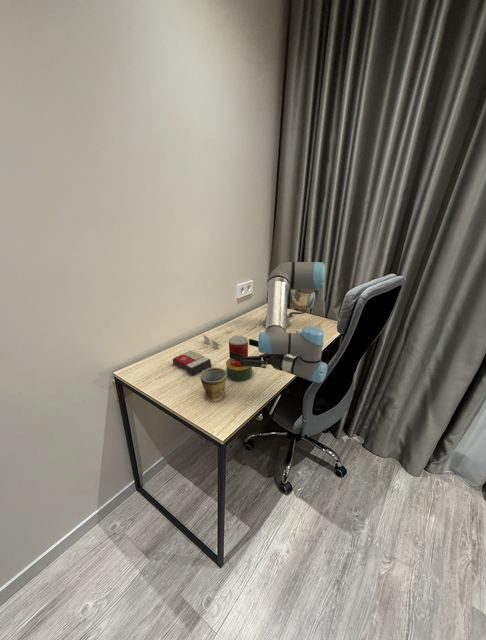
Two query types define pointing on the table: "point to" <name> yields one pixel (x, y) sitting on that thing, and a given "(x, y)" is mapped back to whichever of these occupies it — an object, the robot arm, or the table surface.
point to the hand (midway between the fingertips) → (240, 347)
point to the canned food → (238, 348)
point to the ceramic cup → (213, 383)
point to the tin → (238, 372)
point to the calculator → (192, 362)
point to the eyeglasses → (213, 340)
